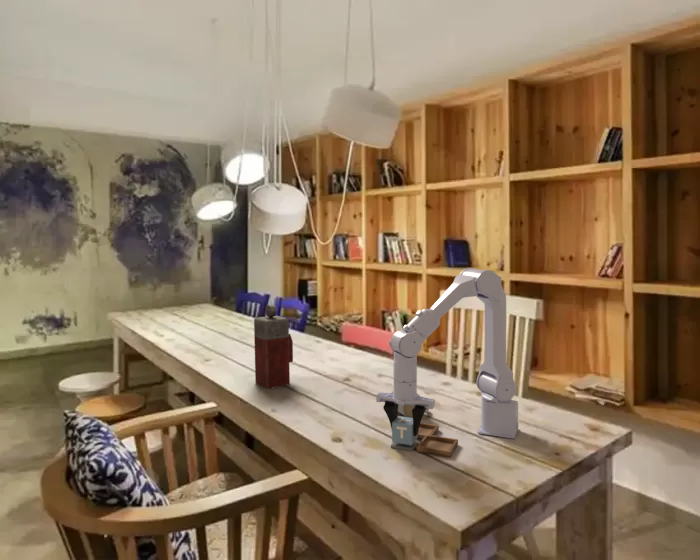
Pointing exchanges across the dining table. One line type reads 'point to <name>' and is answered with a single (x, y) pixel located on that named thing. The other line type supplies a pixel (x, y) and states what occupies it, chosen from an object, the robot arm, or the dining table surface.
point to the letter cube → (403, 430)
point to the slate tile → (405, 446)
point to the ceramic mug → (407, 409)
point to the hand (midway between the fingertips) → (404, 432)
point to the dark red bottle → (272, 349)
